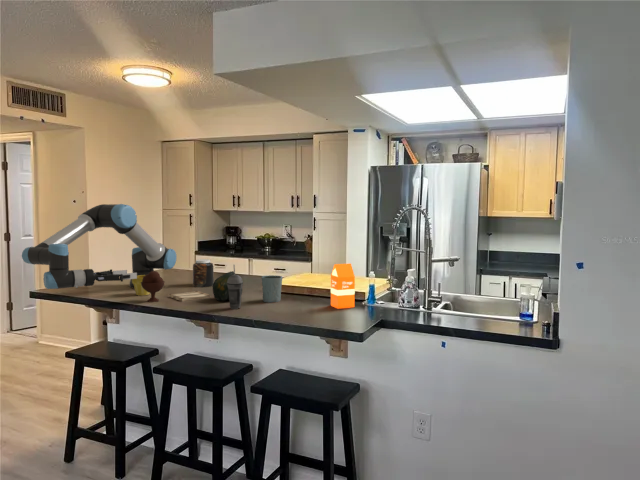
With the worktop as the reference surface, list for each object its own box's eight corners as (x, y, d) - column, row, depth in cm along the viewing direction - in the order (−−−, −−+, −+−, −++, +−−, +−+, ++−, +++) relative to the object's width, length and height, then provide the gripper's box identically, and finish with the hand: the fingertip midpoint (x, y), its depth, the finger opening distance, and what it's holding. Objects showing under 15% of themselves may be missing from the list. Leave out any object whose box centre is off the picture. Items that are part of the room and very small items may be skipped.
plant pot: (127, 295, 252) (127, 277, 252) (142, 292, 262) (141, 274, 261) (143, 297, 248) (143, 278, 248) (157, 293, 258) (156, 275, 257)
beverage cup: (229, 310, 217) (229, 266, 216) (225, 307, 224) (224, 264, 222) (245, 308, 221) (245, 265, 219) (240, 305, 227) (239, 263, 226)
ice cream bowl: (168, 299, 243) (167, 269, 242) (158, 303, 232) (158, 272, 231) (147, 298, 245) (147, 269, 243) (137, 303, 233) (136, 272, 232)
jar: (210, 287, 279) (210, 261, 278) (190, 287, 279) (190, 261, 278) (215, 283, 290) (215, 259, 289) (196, 283, 291) (195, 258, 290)
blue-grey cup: (257, 300, 240) (257, 276, 239) (273, 297, 247) (272, 274, 246) (271, 303, 233) (271, 278, 232) (286, 300, 240) (286, 276, 239)
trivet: (169, 296, 249) (169, 294, 249) (197, 293, 259) (196, 290, 258) (182, 301, 237) (181, 298, 237) (210, 297, 247) (209, 294, 247)
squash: (201, 289, 239) (218, 268, 235) (220, 286, 253) (236, 266, 248) (219, 310, 235) (236, 289, 230) (237, 306, 249) (253, 285, 244)
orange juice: (330, 305, 229) (330, 263, 227) (347, 304, 232) (347, 262, 231) (337, 308, 222) (337, 265, 220) (354, 307, 225) (355, 264, 224)
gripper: (76, 282, 227) (123, 279, 241) (91, 289, 208) (141, 285, 221) (76, 266, 227) (123, 263, 240) (90, 272, 207) (140, 268, 221)
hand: (131, 274), depth 231 cm, fingers open, 13 cm apart
